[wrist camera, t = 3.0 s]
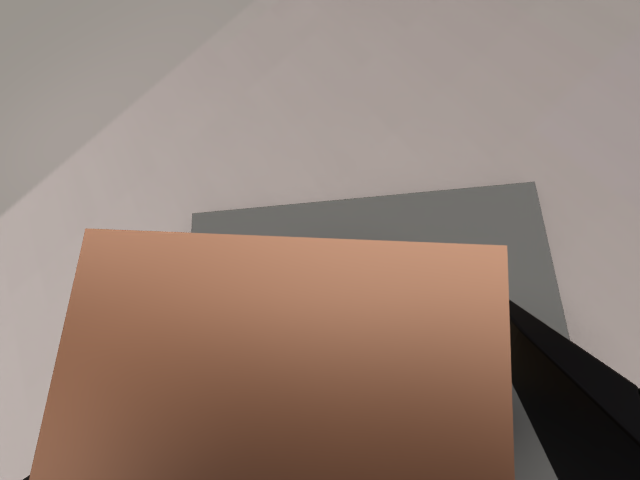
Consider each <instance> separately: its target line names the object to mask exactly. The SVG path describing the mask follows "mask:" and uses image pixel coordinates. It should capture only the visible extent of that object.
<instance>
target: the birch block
mask: <svg viewBox="0 0 640 480" xmlns="http://www.w3.org/2000/svg"><path fill="white" fill-rule="evenodd" d="M29 480H515V469H514V439H513V408H512V377H511V346H510V315H509V284H508V254H507V245H482V244H457V243H432V242H407V241H382V240H357V239H333V238H308V237H283V236H258V235H233V234H208V233H184V232H159V231H134V230H109V229H85V233H84V238H83V242H82V247H81V251H80V256H79V260H78V264H77V269H76V273H75V278H74V282H73V287H72V291H71V296H70V300H69V304H68V309H67V313H66V318H65V322H64V327H63V331H62V335H61V340H60V344H59V349H58V353H57V358H56V362H55V367H54V371H53V375H52V380H51V384H50V389H49V393H48V398H47V402H46V406H45V411H44V415H43V420H42V424H41V429H40V433H39V437H38V442H37V446H36V451H35V455H34V460H33V464H32V469H31V473H30V477H29Z"/></svg>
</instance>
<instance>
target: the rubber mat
mask: <svg viewBox="0 0 640 480" xmlns="http://www.w3.org/2000/svg"><path fill="white" fill-rule="evenodd" d="M191 233H208V234H233V235H258V236H283V237H308V238H333V239H357V240H382V241H407V242H432V243H457V244H482V245H507V254H508V284H509V299H510V300H511V301H513V302H514V303H516V304H517V305H519V306H520V307H521V308H523V309H524V310H526V311H527V312H529V313H530V314H532V315H533V316H535V317H536V318H538V319H539V320H541V321H542V322H544V323H545V324H547V325H548V326H549V327H551V328H552V329H554V330H555V331H557V332H558V333H560V334H561V335H563V336H564V337H566V338H567V339H569V340H570V338H569V334H568V329H567V325H566V320H565V316H564V311H563V307H562V302H561V298H560V293H559V289H558V284H557V280H556V275H555V271H554V266H553V262H552V257H551V253H550V248H549V244H548V239H547V235H546V230H545V226H544V221H543V217H542V212H541V208H540V203H539V199H538V194H537V190H536V185H535V182H527V183H516V184H505V185H494V186H483V187H473V188H462V189H451V190H440V191H430V192H419V193H408V194H397V195H387V196H376V197H365V198H354V199H344V200H333V201H322V202H311V203H300V204H290V205H279V206H268V207H257V208H247V209H236V210H225V211H214V212H204V213H193V214H192V229H191ZM512 408H513V439H514V469H515V480H558V479H557V477H556V475H555V472H554V470H553V468H552V466H551V464H550V462H549V460H548V458H547V456H546V454H545V452H544V449H543V447H542V445H541V443H540V441H539V439H538V437H537V435H536V433H535V431H534V429H533V427H532V424H531V422H530V420H529V418H528V416H527V414H526V412H525V410H524V408H523V406H522V404H521V401H520V399H519V397H518V395H517V393H516V391H515V389H514V387H513V385H512Z"/></svg>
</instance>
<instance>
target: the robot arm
mask: <svg viewBox="0 0 640 480" xmlns="http://www.w3.org/2000/svg"><path fill="white" fill-rule="evenodd" d="M509 315H510V346H511V377H512V385H513V387H514V389H515V391H516V393H517V395H518V397H519V399H520V401H521V404H522V406H523V408H524V410H525V412H526V414H527V416H528V418H529V420H530V422H531V424H532V427H533V429H534V431H535V433H536V435H537V437H538V439H539V441H540V443H541V445H542V447H543V449H544V452H545V454H546V456H547V458H548V460H549V462H550V464H551V466H552V468H553V470H554V472H555V475H556V477H557V479H558V480H640V388H638V387H637V386H636V385H635V384H633V383H632V382H631V381H629V380H628V379H626V378H625V377H623V376H622V375H620V374H619V373H617V372H616V371H614V370H613V369H611V368H610V367H608V366H607V365H605V364H604V363H603V362H601V361H600V360H598V359H597V358H595V357H594V356H592V355H591V354H589V353H588V352H586V351H585V350H583V349H582V348H580V347H579V346H577V345H576V344H575V343H573V342H572V341H570V340H569V339H567V338H566V337H564V336H563V335H561V334H560V333H558V332H557V331H555V330H554V329H552V328H551V327H549V326H548V325H547V324H545V323H544V322H542V321H541V320H539V319H538V318H536V317H535V316H533V315H532V314H530V313H529V312H527V311H526V310H524V309H523V308H521V307H520V306H519V305H517V304H516V303H514V302H513V301H511V300H510V299H509ZM29 477H30V475H29V476H28V477H26V478H25V479H23V480H29Z"/></svg>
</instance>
